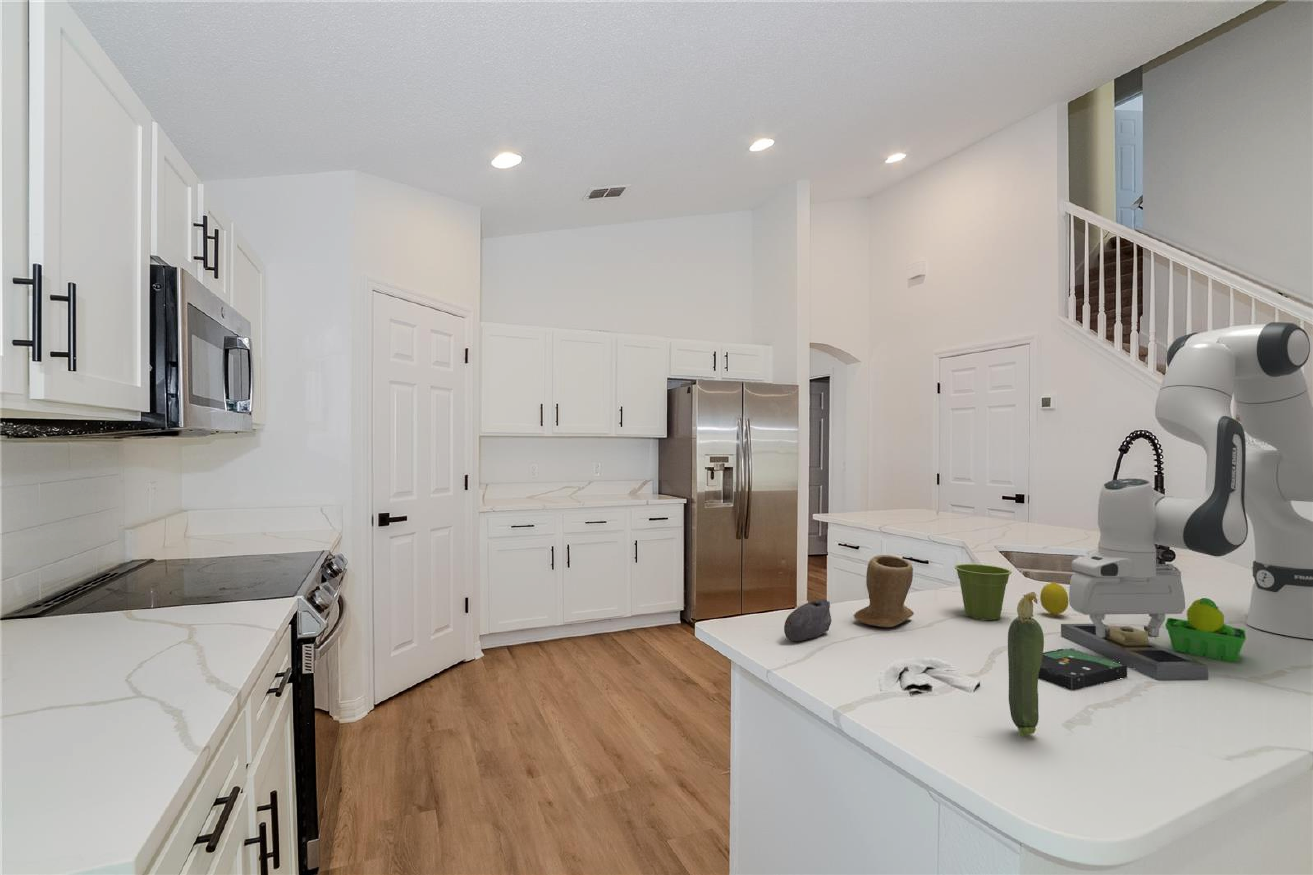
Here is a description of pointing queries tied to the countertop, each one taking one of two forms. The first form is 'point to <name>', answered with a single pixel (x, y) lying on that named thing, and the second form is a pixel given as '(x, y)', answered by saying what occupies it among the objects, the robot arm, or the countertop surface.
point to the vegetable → (1024, 666)
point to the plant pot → (982, 589)
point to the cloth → (910, 667)
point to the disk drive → (1078, 669)
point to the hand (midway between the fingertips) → (1127, 636)
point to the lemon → (1054, 598)
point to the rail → (1139, 655)
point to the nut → (1127, 637)
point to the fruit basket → (1205, 633)
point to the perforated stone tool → (808, 621)
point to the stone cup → (887, 591)
